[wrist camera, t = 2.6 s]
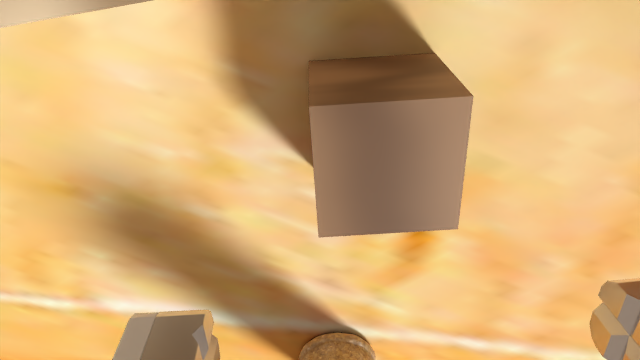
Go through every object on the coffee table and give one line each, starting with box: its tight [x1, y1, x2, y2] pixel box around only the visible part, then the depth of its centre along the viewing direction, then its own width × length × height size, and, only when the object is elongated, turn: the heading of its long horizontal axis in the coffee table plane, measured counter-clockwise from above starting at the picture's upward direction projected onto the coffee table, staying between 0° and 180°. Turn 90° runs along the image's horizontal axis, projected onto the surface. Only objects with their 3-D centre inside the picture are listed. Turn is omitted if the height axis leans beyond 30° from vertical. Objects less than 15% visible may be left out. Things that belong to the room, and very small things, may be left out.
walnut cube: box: [309, 53, 473, 237], centre depth 17 cm, size 5×5×5 cm
